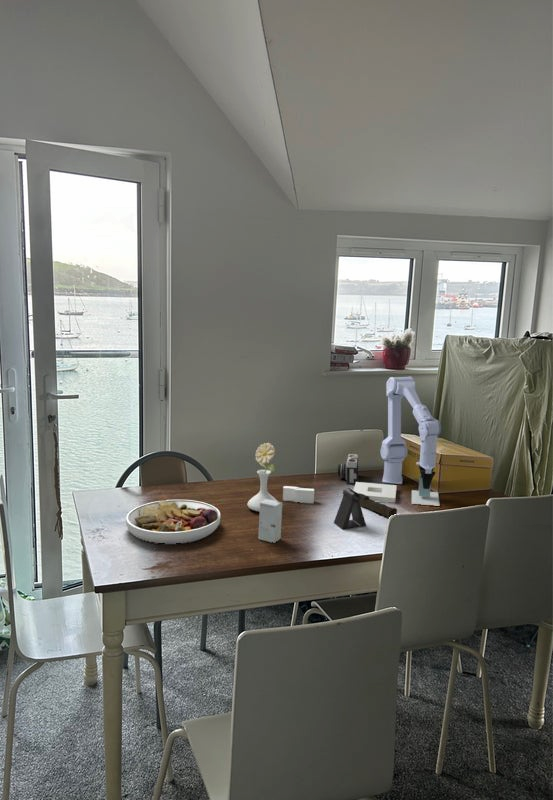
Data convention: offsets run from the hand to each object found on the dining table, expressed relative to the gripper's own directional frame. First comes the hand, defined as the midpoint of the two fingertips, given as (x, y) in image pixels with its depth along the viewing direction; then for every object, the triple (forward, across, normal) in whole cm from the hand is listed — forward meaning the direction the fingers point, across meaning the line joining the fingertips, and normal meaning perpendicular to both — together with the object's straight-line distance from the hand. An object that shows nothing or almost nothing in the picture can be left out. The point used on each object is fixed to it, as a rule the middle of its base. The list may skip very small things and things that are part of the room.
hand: (425, 486), depth 230 cm
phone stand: (+5, +33, -27) cm, 43 cm away
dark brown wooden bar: (+5, +18, -19) cm, 27 cm away
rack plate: (+5, -1, -19) cm, 20 cm away
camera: (+5, -19, -30) cm, 36 cm away
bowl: (+5, +49, -83) cm, 96 cm away
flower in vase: (+5, +25, -57) cm, 63 cm away
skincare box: (+5, +50, -51) cm, 72 cm away
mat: (+5, 0, 0) cm, 5 cm away
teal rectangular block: (+3, 0, 0) cm, 3 cm away
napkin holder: (+6, +12, -47) cm, 49 cm away
